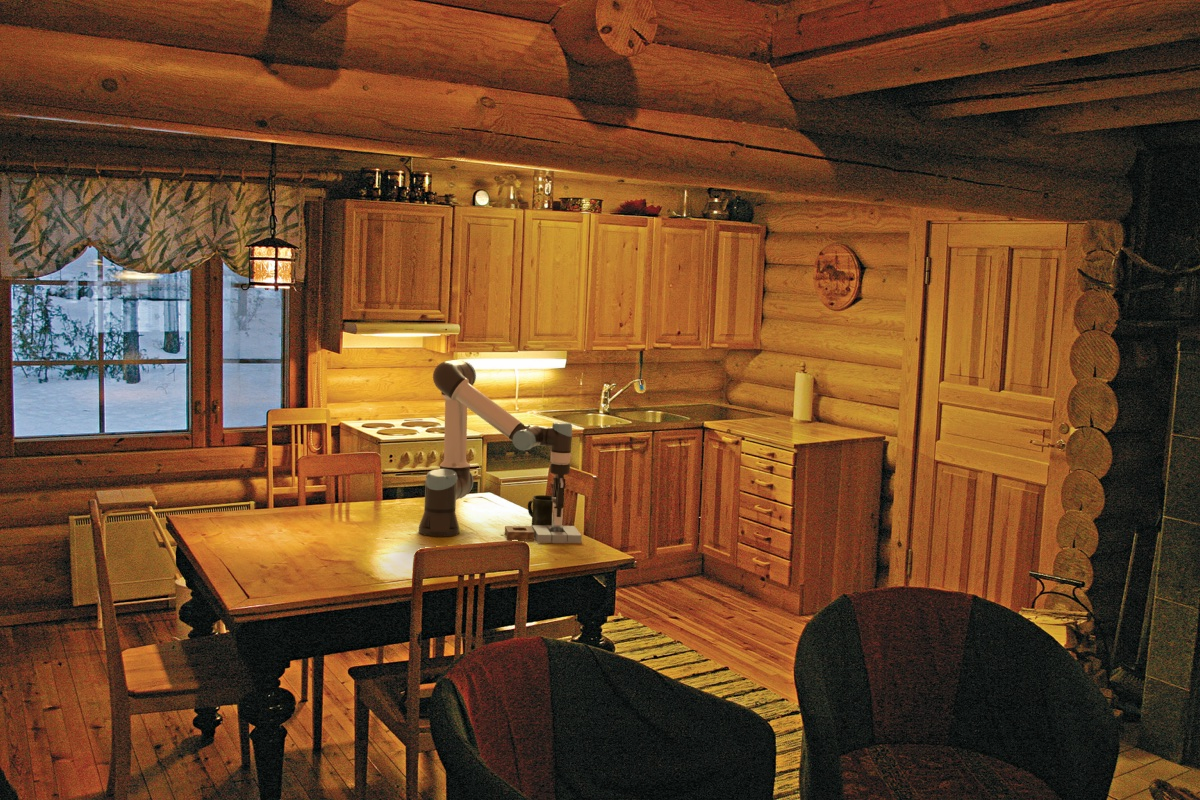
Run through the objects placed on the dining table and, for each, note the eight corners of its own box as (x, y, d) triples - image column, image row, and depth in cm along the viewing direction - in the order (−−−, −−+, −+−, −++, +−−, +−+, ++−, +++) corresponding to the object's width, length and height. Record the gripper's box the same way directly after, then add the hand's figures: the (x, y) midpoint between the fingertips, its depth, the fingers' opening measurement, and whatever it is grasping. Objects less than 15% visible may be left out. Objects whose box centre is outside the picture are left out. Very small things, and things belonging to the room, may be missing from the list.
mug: (546, 532, 416) (547, 501, 415) (518, 525, 425) (520, 495, 424) (563, 528, 424) (565, 498, 423) (536, 521, 433) (538, 492, 432)
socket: (537, 542, 397) (537, 534, 397) (531, 532, 413) (531, 525, 413) (581, 543, 400) (581, 535, 400) (573, 533, 417) (574, 525, 416)
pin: (550, 537, 404) (552, 499, 402) (548, 534, 409) (550, 496, 407) (563, 537, 405) (565, 499, 403) (561, 534, 410) (563, 496, 408)
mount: (507, 539, 399) (508, 531, 399) (504, 533, 409) (505, 525, 409) (534, 540, 401) (534, 532, 401) (530, 534, 411) (531, 526, 411)
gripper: (573, 467, 396) (570, 528, 399) (566, 459, 413) (562, 519, 415) (554, 466, 395) (550, 528, 397) (547, 459, 412) (543, 518, 414)
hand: (556, 523), depth 406 cm, fingers closed on pin, 4 cm apart
